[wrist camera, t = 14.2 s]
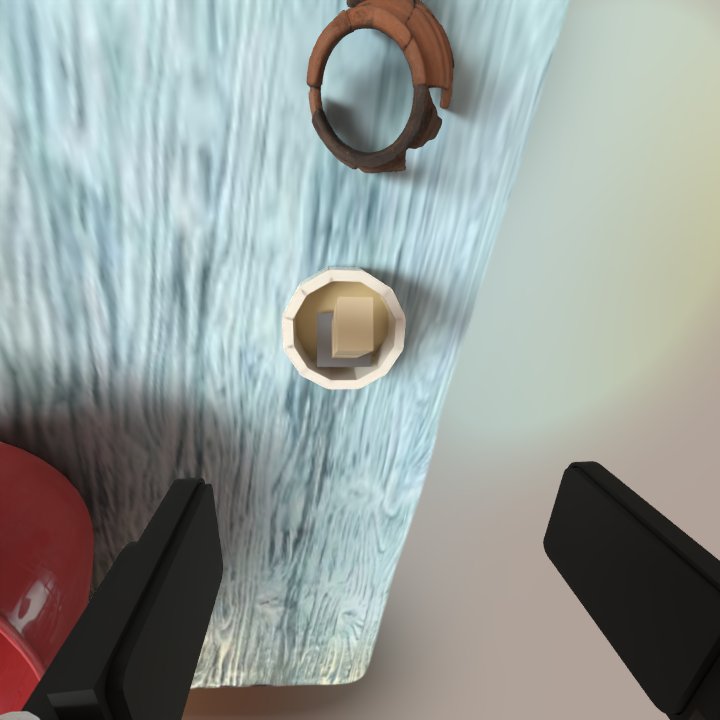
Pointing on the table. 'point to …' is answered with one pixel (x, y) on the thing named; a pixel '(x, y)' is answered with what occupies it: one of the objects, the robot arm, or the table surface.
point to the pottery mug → (427, 64)
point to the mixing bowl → (38, 569)
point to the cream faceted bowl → (321, 298)
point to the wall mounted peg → (346, 333)
